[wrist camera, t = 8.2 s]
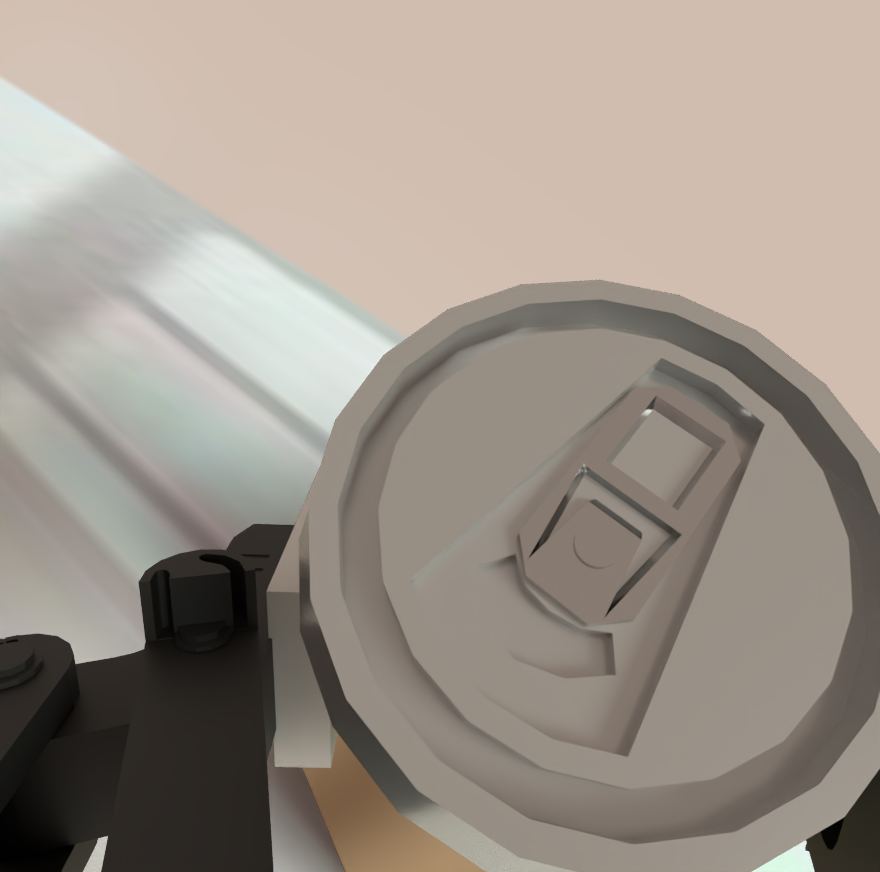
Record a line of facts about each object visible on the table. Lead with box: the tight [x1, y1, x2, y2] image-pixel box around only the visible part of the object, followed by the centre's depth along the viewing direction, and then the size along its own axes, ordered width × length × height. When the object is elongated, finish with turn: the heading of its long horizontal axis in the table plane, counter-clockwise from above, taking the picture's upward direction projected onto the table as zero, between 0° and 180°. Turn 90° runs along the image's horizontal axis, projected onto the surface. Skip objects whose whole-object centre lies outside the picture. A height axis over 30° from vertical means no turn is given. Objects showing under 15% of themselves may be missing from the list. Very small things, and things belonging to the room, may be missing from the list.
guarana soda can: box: [299, 280, 880, 872], centre depth 11 cm, size 5×5×12 cm
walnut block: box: [302, 733, 486, 872], centre depth 23 cm, size 10×10×6 cm
